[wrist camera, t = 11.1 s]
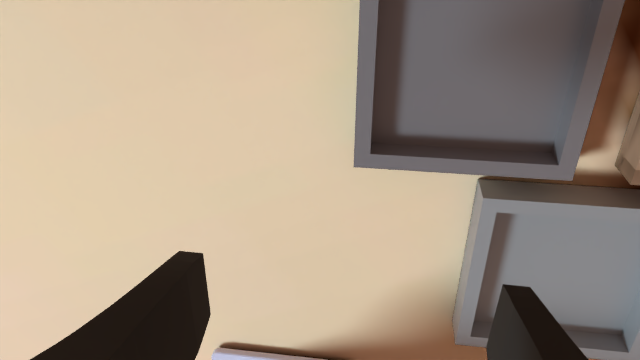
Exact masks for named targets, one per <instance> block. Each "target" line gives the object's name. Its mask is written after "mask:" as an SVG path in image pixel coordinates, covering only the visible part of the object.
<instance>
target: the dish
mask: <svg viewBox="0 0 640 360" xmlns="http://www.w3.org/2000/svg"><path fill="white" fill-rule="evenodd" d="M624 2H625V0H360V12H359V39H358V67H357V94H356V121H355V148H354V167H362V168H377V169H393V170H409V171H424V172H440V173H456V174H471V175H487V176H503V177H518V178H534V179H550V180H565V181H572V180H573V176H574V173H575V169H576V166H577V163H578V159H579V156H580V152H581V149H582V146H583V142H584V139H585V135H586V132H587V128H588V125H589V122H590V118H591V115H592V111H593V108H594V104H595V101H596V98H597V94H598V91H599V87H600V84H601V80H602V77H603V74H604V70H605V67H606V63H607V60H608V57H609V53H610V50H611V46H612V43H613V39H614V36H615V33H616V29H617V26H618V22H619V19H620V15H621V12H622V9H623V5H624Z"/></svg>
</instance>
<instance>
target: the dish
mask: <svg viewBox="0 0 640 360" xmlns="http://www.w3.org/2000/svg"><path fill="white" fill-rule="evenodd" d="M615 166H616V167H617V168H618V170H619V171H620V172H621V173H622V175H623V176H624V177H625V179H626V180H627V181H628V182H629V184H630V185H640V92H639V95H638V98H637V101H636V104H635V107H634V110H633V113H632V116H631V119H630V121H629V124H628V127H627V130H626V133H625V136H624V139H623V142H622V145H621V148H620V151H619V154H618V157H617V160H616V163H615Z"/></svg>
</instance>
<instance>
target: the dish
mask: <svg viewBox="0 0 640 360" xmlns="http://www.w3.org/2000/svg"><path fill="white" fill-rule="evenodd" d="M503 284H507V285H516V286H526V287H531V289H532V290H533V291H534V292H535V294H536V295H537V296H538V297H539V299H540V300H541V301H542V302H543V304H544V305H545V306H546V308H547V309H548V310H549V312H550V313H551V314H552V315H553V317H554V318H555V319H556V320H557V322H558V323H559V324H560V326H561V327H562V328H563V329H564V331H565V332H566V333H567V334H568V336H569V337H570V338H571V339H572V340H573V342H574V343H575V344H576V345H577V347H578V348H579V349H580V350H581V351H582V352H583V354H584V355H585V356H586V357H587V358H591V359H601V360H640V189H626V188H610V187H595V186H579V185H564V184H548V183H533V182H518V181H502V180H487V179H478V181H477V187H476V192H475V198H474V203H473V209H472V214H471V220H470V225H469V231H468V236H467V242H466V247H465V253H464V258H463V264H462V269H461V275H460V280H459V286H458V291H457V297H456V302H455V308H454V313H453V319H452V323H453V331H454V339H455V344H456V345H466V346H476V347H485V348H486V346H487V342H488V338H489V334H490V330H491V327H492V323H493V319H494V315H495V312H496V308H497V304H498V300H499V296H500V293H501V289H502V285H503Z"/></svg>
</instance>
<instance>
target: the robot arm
mask: <svg viewBox="0 0 640 360" xmlns="http://www.w3.org/2000/svg"><path fill="white" fill-rule="evenodd" d="M209 318H210V306H209V298H208V290H207V282H206V274H205V266H204V258H203V253H194V252H184V251H179V252H178V253H176V254H175V255H174V256H172V257H171V258H170V259H169V260H167V261H166V262H165V263H164V264H163V265H161V266H160V267H159V268H158V269H156V270H155V271H154V272H153V273H152V274H150V275H149V276H148V277H147V278H145V279H144V280H143V281H142V282H140V283H139V284H138V285H137V286H135V287H134V288H133V289H132V290H130V291H129V292H128V293H127V294H125V295H124V296H123V297H121V298H120V299H119V300H118V301H116V302H115V303H114V304H113V305H111V306H110V307H108V308H107V309H106V310H104V311H103V312H102V313H100V314H99V315H97V316H96V317H95V318H93V319H92V320H90V321H89V322H88V323H86V324H85V325H83V326H82V327H81V328H79V329H78V330H76V331H75V332H73V333H72V334H71V335H69V336H68V337H66V338H64V339H63V340H61V341H60V342H58V343H57V344H55V345H53V346H52V347H50V348H49V349H47V350H45V351H44V352H42V353H40V354H39V355H37V356H35V357H34V358H32V359H30V360H195V358H196V356H197V354H198V351H199V348H200V345H201V343H202V340H203V337H204V334H205V330H206V327H207V324H208V321H209ZM486 348H487V358H488V360H588V358H587V357H586V356H585V355H584V354H583V352H582V351H581V350H580V349H579V348H578V347H577V345H576V344H575V343H574V342H573V340H572V339H571V338H570V337H569V336H568V334H567V333H566V332H565V331H564V329H563V328H562V327H561V326H560V324H559V323H558V322H557V320H556V319H555V318H554V317H553V315H552V314H551V313H550V312H549V310H548V309H547V308H546V306H545V305H544V304H543V302H542V301H541V300H540V299H539V297H538V296H537V295H536V294H535V292H534V291H533V290H532V289H531V287H526V286H516V285H507V284H503V285H502V289H501V293H500V296H499V300H498V304H497V308H496V312H495V315H494V319H493V323H492V327H491V330H490V334H489V338H488V342H487V346H486ZM212 360H326V359H317V358H308V357H299V356H290V355H281V354H272V353H263V352H254V351H245V350H236V349H227V348H217V349H215V350H214V351H213V354H212Z"/></svg>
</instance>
